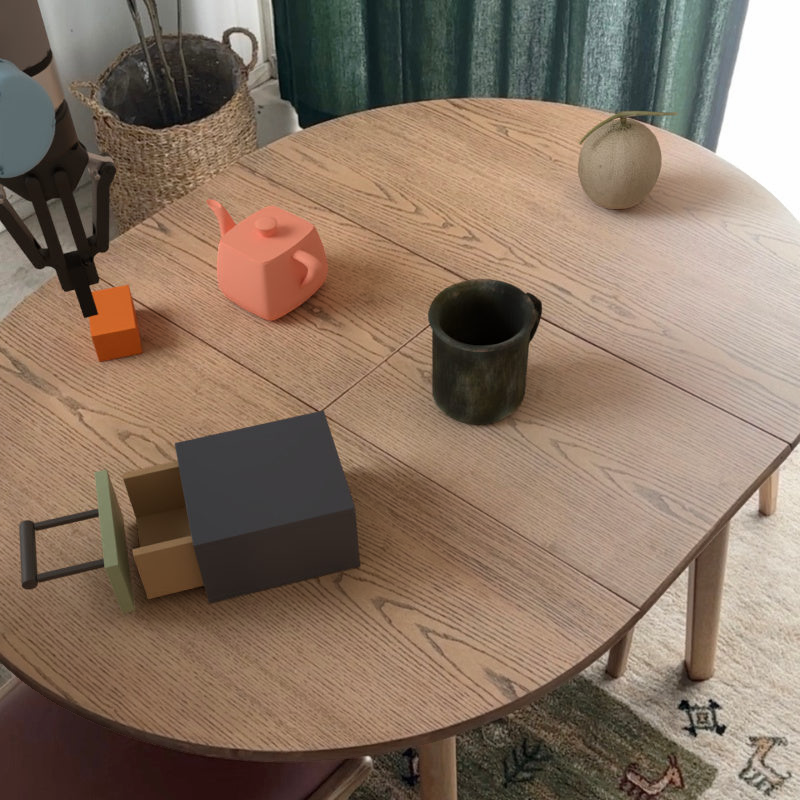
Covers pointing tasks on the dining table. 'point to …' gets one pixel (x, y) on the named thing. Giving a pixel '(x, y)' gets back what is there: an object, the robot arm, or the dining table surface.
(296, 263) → the teapot
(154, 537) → the drawer
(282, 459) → the cabinet
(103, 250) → the robot arm
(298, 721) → the dining table surface
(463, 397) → the mug
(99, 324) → the orange gripped block
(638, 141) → the fruit
